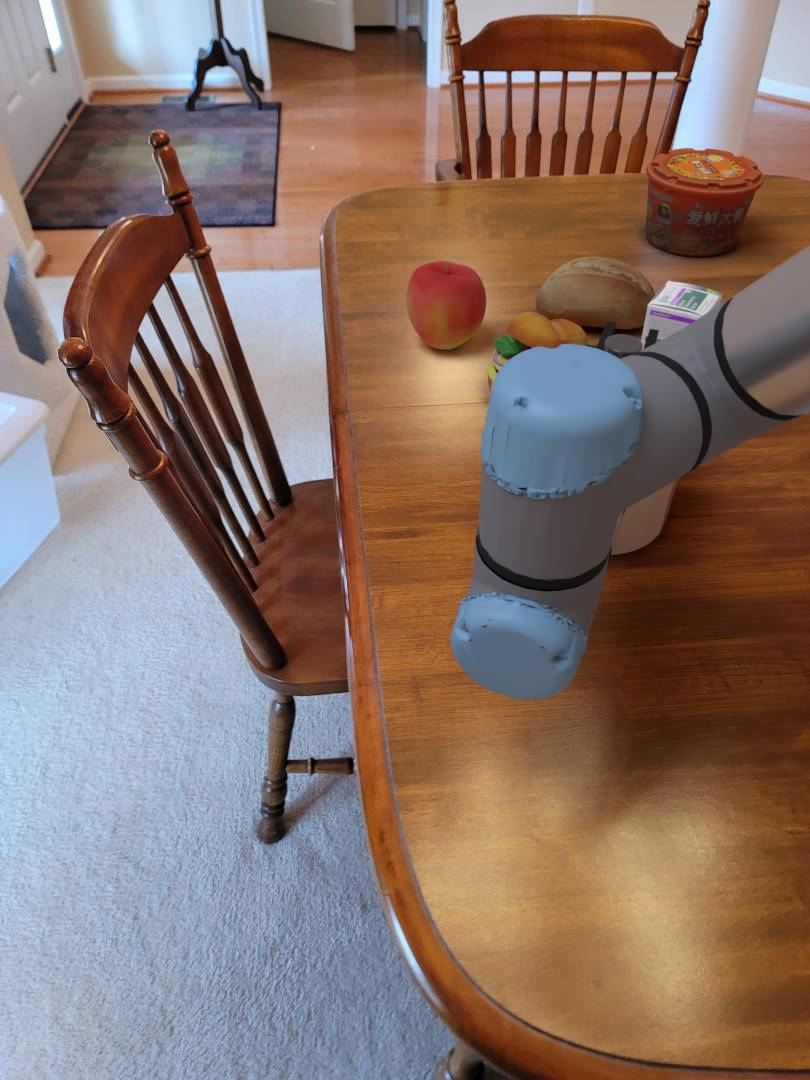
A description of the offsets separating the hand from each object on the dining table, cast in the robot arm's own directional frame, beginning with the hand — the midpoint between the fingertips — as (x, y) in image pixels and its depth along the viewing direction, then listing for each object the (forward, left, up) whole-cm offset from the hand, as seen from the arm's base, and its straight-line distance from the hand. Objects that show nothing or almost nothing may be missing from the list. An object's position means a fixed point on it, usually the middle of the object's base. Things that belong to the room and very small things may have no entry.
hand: (629, 339), depth 73 cm
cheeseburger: (+15, -5, -15) cm, 22 cm away
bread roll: (+21, -22, -15) cm, 34 cm away
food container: (+29, -52, -15) cm, 62 cm away
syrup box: (+2, -11, -15) cm, 19 cm away
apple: (+29, -4, -15) cm, 33 cm away
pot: (-3, +5, -15) cm, 16 cm away
